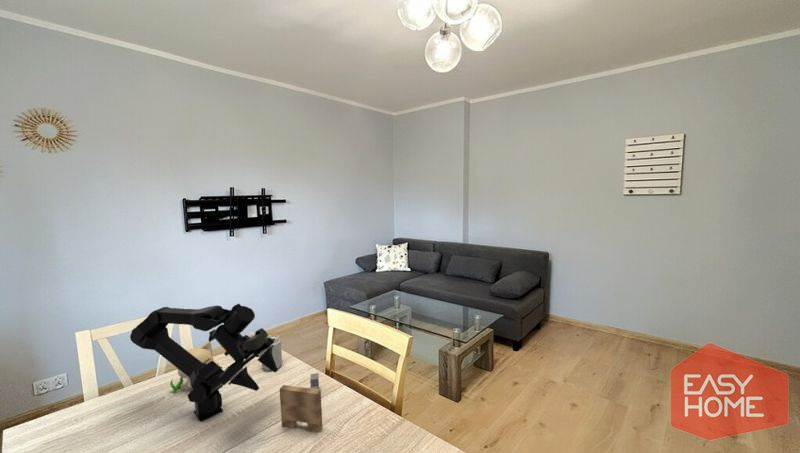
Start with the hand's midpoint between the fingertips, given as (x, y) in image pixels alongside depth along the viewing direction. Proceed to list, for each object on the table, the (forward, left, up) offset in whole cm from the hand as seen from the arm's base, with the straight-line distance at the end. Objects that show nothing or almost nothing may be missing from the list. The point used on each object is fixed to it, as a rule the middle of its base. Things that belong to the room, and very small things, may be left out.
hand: (267, 380), depth 97 cm
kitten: (-9, +38, -14) cm, 41 cm away
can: (+15, +29, -14) cm, 35 cm away
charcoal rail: (+15, 0, -13) cm, 20 cm away
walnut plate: (+5, -9, -13) cm, 17 cm away
